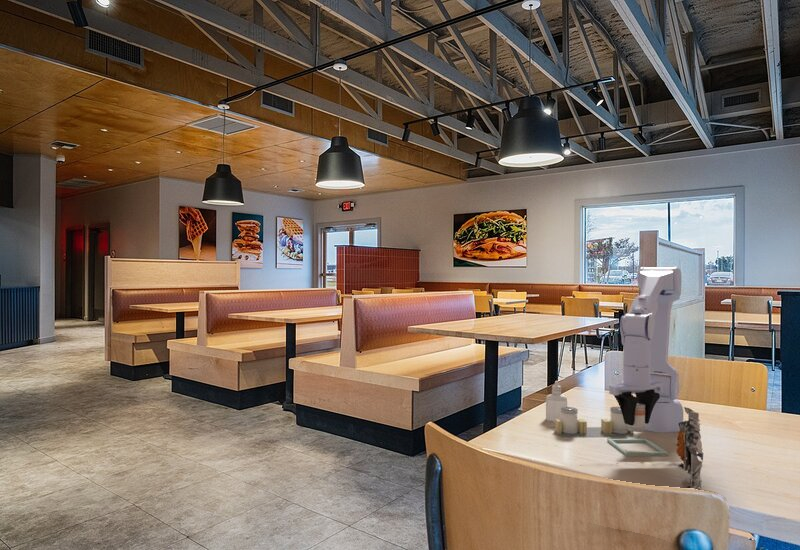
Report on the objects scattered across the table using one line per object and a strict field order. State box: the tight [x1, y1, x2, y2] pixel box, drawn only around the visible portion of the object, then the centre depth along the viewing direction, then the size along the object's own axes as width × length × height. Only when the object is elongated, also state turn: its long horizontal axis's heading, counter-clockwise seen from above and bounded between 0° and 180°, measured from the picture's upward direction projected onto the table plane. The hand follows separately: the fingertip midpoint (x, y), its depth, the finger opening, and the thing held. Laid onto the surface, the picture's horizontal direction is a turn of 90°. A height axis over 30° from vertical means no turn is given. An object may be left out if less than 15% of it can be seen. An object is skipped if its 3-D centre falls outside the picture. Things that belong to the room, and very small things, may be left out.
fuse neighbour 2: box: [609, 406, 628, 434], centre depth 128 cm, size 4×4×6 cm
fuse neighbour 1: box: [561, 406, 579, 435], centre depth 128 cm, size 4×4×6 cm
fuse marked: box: [626, 402, 646, 433], centre depth 116 cm, size 4×4×6 cm
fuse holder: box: [550, 418, 641, 438], centre depth 128 cm, size 20×8×4 cm, turn 91°
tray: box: [606, 438, 669, 457], centre depth 116 cm, size 10×10×2 cm
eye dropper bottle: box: [545, 380, 568, 422], centre depth 139 cm, size 4×6×12 cm
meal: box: [675, 406, 704, 489], centre depth 101 cm, size 15×4×13 cm, turn 153°
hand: (636, 423), depth 116 cm, fingers closed on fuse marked, 4 cm apart
